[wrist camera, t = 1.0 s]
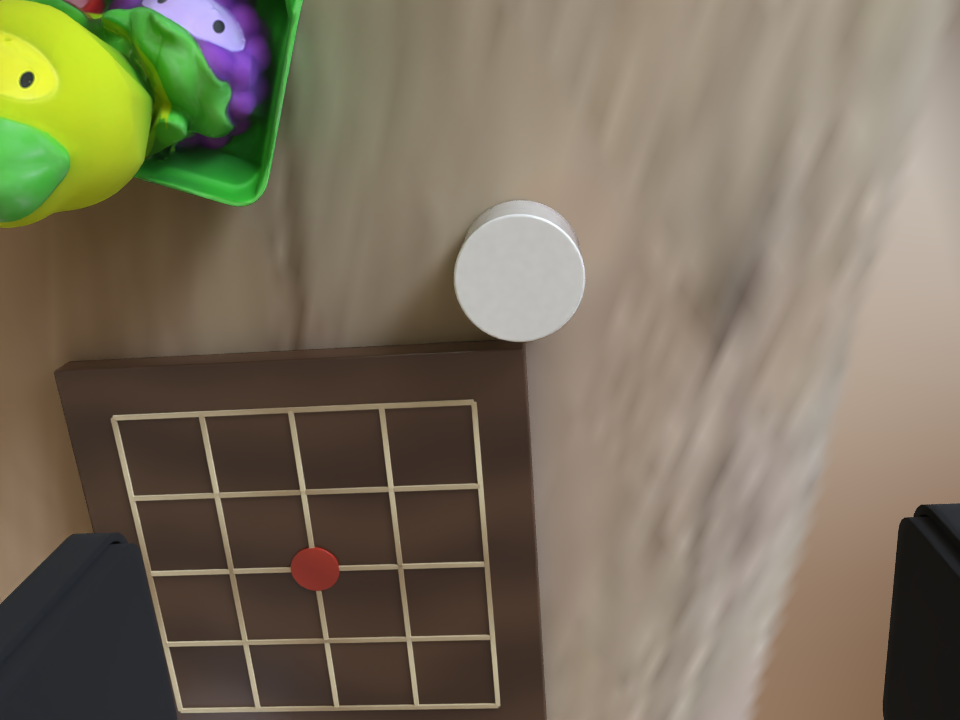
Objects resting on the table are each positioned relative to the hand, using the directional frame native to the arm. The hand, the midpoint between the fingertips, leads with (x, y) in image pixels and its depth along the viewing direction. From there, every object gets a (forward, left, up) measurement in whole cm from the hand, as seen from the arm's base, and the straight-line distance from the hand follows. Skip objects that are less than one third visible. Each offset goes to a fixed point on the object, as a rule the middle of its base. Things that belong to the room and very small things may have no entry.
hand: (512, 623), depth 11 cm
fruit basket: (-8, -12, -22) cm, 26 cm away
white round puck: (0, 0, -22) cm, 22 cm away
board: (+12, -9, -22) cm, 27 cm away
